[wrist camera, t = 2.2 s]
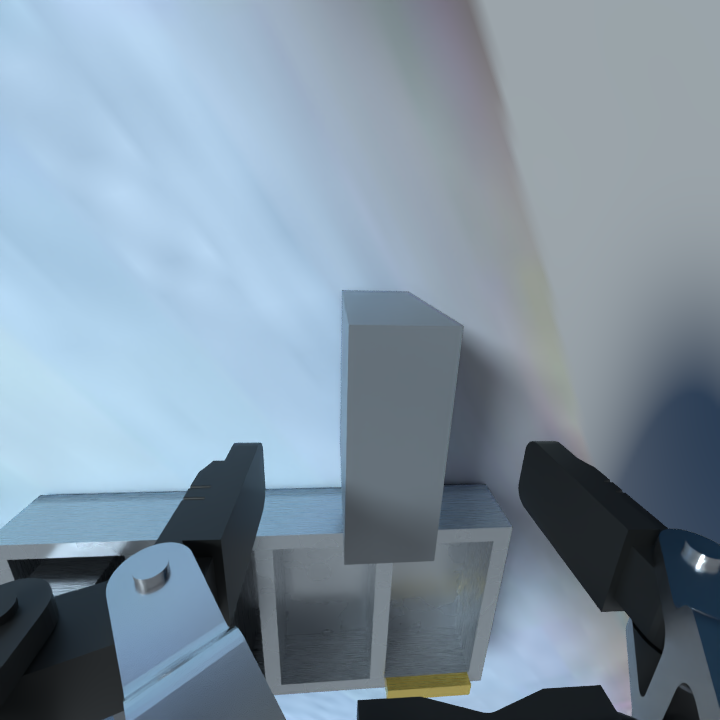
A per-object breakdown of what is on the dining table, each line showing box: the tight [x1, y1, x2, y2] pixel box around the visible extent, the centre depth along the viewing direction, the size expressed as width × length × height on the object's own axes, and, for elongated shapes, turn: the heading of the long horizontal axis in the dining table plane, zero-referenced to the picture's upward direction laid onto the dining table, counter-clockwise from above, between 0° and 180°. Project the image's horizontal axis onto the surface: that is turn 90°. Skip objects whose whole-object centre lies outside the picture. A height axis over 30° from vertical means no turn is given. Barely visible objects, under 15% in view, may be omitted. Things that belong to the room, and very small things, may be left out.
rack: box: [0, 484, 513, 720], centre depth 16 cm, size 23×11×8 cm, turn 89°
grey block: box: [340, 290, 464, 565], centre depth 13 cm, size 8×3×7 cm, turn 178°
